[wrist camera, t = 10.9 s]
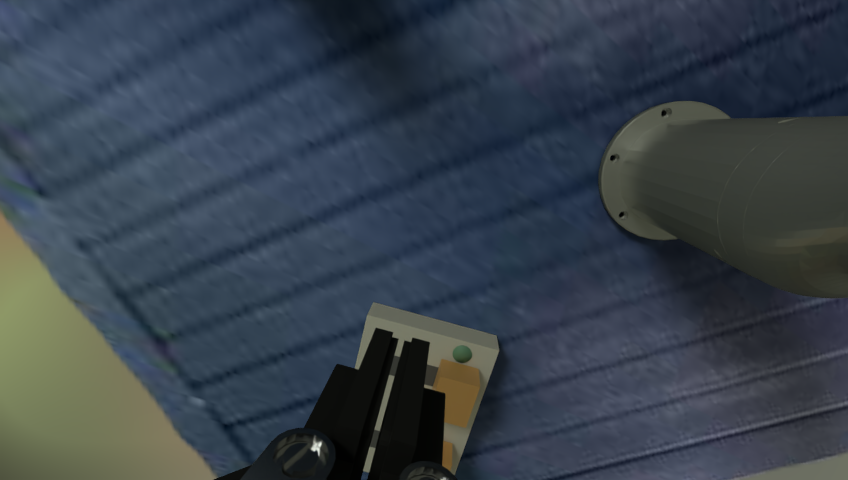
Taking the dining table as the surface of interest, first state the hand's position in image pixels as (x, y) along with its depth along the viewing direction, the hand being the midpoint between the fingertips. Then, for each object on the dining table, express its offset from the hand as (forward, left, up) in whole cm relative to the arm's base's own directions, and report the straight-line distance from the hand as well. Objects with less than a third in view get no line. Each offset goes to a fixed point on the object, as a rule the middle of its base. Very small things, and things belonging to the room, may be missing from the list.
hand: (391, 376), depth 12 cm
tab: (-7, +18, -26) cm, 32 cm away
